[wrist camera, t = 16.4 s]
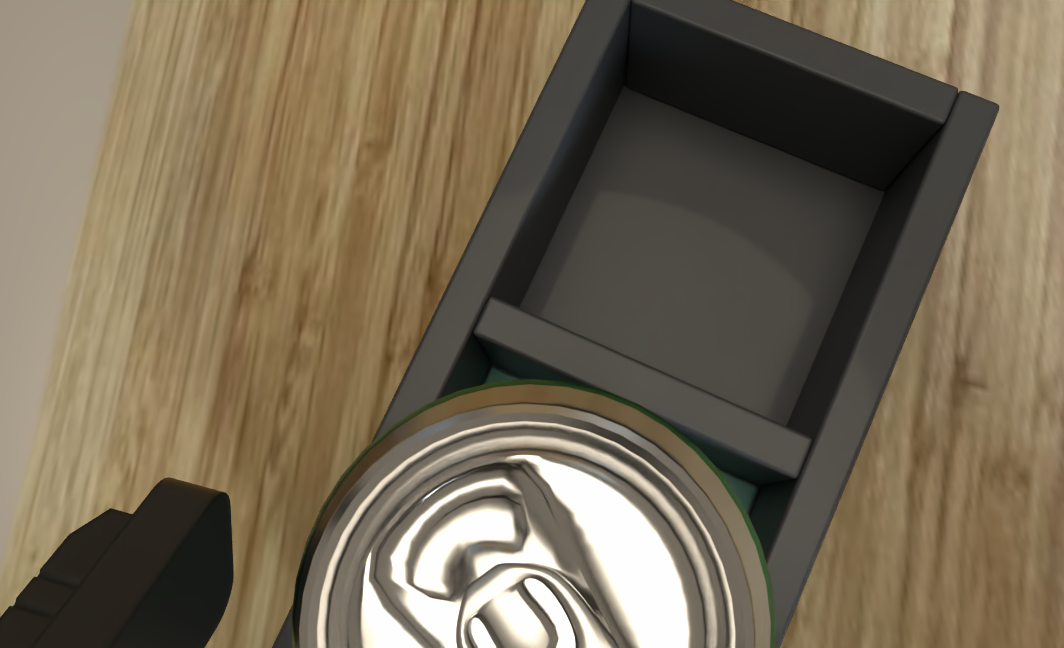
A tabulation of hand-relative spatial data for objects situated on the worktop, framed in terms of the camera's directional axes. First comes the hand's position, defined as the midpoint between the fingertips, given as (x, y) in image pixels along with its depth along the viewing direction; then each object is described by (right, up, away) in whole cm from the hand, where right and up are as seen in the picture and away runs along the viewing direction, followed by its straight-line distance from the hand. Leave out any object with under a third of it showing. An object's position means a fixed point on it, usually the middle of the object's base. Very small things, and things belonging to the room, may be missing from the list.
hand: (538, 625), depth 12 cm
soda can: (+1, -2, +9) cm, 10 cm away
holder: (+2, +2, +11) cm, 11 cm away
